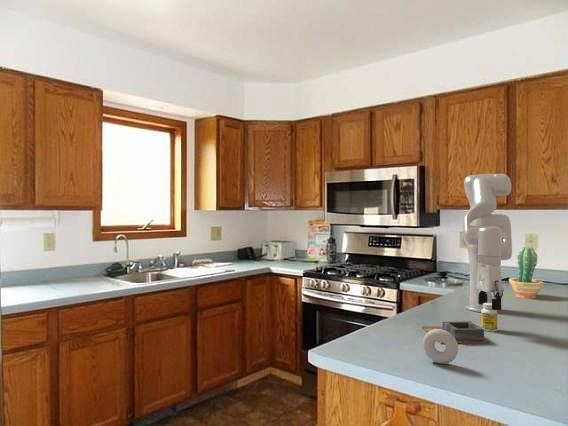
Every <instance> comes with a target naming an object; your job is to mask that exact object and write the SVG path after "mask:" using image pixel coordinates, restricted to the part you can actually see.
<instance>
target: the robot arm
mask: <svg viewBox="0 0 568 426" xmlns="http://www.w3.org/2000/svg"><path fill="white" fill-rule="evenodd" d="M511 181H512V180H511V178H510V177H509V175H507V174H505V173H480V174H479V173H478V174H471V175H468V176H466V177H464V181H463V188H464V193H465V196H466V198H467V200H468V203H469V210H468V211H467V212H466V213H465V215H464V217H463V220H462V238H463V241H464V243H465V244H466V245H467V253H468V261H469V298H468V300H469V303H468V304H466V305H465V309H467V310H469V311H472V312H477V313H481V310H482V309H484V307H483V303H492V310H496V311H497V312H498V311H501V310H502V300H503V296H504V290H505V289H504V287H503V285H502V284H503V283H502V281H503V280H502V270H501V264H502V262H501V261H508V260H511V258H512V255H513V241H512V237H513V236H512V225H511V219H510V217H509V216H508V215H506V214H504V213H501V214H499V213H498V214H496V213H495V214H494V212H495V211H496V209H497V206H498V205H497V197H496V196H498V197H499V196H509V194H511V191H512V182H511Z"/></svg>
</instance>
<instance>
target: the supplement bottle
mask: <svg viewBox="0 0 568 426" xmlns="http://www.w3.org/2000/svg"><path fill="white" fill-rule="evenodd" d="M483 307H484V309H482V310H481V312H480V314H481V315H480V316H481V317H480V321H481V325H480V327H481V328H482V329H484V332H489V333H490V332H497V331H498V310H497V311H496V310H492V303H483Z"/></svg>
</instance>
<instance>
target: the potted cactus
mask: <svg viewBox="0 0 568 426" xmlns="http://www.w3.org/2000/svg"><path fill="white" fill-rule="evenodd" d="M516 260H517V266H518V277H517V278H516V277H515V278H513V277H512V278H508V282H509V284H511V286H512V287H511V288H512V290H513V291H514V292H515V297H517V298H521V299H537V294H538V293H540V291H541V288H542V286H544V283H545V282H544V281H543V280H539V279H533V277H534V271H535V269H536V267H537V264H538V254H537V253H536V251H535V250H534V248H533V247H529V246H527V247H526V246H522V248H521V249H520V250H519V251H518V253H517V255H516Z"/></svg>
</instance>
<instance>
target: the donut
mask: <svg viewBox="0 0 568 426" xmlns="http://www.w3.org/2000/svg"><path fill="white" fill-rule="evenodd" d="M438 341H442V342H443V343H444V344H443V345H445V350H444V351H440V350H438V349H437V347H436V345H435V344H436V343H437V342H438ZM422 349H423V351H424V353H425V355H426V356H427V357H428V358H429V359H430V360H432V362H434V363H436V364H441V365H442V364H443V365H445V364H449V363H452V362H453V361H454V360H455V359H456V357H457V356H458V354H459V345H458V343H457V341H456V339H455V338H454V337H453V335H452V334H451V333H449V332H447V331H446V330H442V329H434V330H431V331H429V332H428V333H427V332H426V333H425V334H424V337H423V339H422Z"/></svg>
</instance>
